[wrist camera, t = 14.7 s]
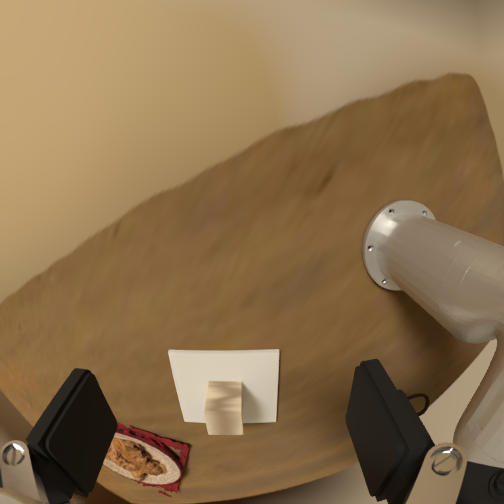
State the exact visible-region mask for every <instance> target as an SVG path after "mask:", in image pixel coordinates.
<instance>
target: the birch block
mask: <svg viewBox="0 0 504 504" xmlns="http://www.w3.org/2000/svg"><path fill="white" fill-rule="evenodd" d="M204 416H205V421H206V425H207V430H208V434H209V435H243V396H242V381H209V382H208V389H207V396H206V403H205V410H204Z"/></svg>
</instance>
